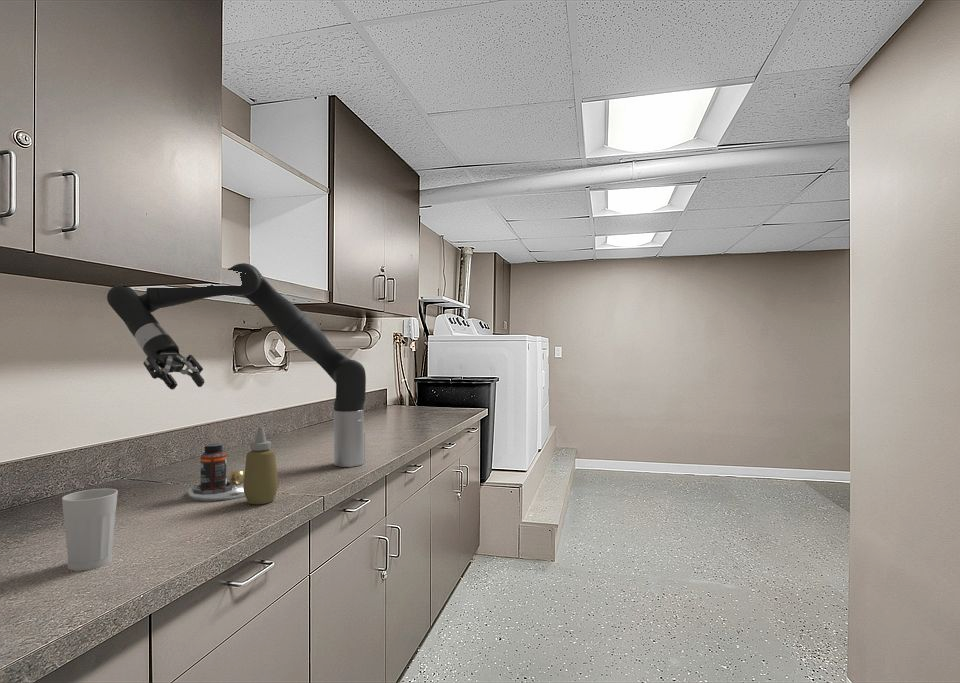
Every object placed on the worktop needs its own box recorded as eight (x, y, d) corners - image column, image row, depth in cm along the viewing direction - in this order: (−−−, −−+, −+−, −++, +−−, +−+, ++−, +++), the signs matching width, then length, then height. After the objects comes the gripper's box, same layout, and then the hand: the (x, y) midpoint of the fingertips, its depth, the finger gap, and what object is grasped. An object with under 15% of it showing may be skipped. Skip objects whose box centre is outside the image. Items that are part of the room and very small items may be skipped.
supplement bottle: (231, 486, 143) (231, 442, 143) (217, 492, 137) (218, 446, 137) (209, 486, 144) (209, 442, 144) (195, 492, 138) (195, 446, 138)
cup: (100, 571, 93) (100, 500, 93) (50, 573, 92) (50, 501, 93) (127, 554, 101) (127, 487, 101) (80, 555, 100) (80, 489, 100)
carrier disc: (223, 482, 154) (223, 466, 154) (270, 487, 148) (270, 470, 148) (173, 497, 139) (173, 479, 139) (222, 503, 133) (222, 485, 133)
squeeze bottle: (265, 495, 140) (265, 424, 140) (285, 500, 136) (285, 426, 136) (235, 503, 134) (235, 428, 134) (255, 508, 129) (255, 430, 129)
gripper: (139, 333, 144) (172, 377, 140) (186, 333, 157) (217, 374, 153) (125, 353, 146) (157, 398, 142) (172, 352, 159) (203, 393, 155)
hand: (188, 386), depth 147 cm, fingers open, 8 cm apart
